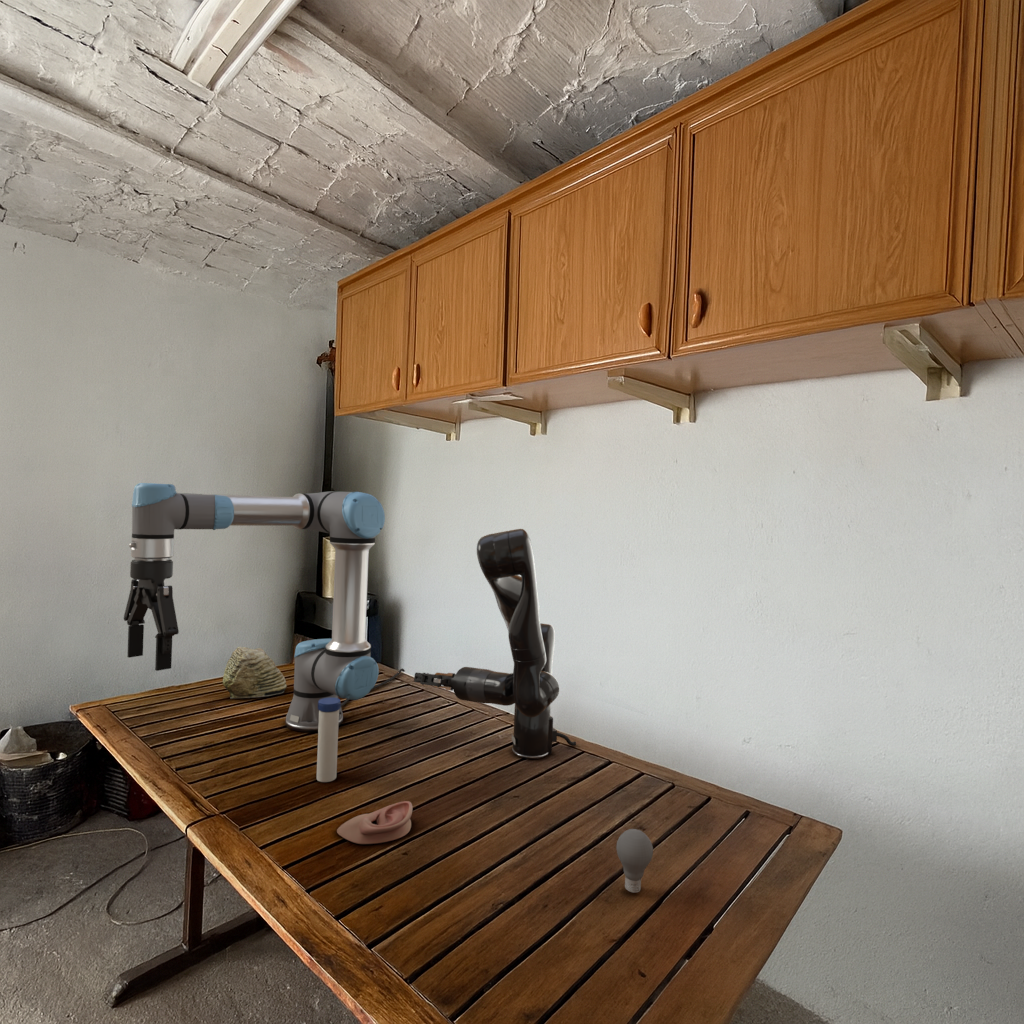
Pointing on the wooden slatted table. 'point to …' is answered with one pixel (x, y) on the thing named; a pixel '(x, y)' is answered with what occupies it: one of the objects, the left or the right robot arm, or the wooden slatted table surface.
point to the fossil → (252, 674)
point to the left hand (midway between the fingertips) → (148, 662)
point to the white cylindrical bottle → (327, 746)
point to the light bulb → (634, 857)
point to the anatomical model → (379, 825)
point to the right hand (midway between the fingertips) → (427, 678)
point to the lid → (329, 704)
